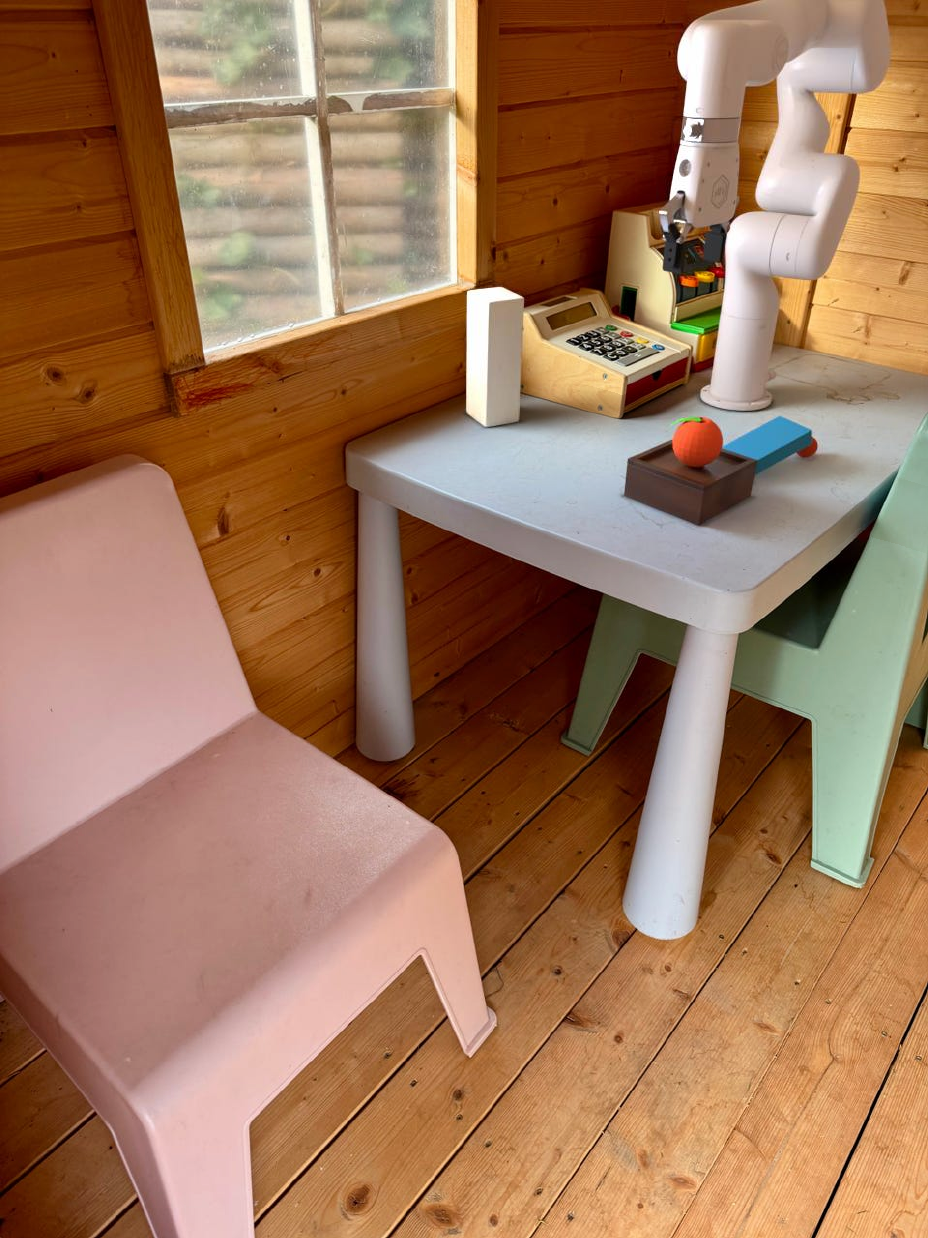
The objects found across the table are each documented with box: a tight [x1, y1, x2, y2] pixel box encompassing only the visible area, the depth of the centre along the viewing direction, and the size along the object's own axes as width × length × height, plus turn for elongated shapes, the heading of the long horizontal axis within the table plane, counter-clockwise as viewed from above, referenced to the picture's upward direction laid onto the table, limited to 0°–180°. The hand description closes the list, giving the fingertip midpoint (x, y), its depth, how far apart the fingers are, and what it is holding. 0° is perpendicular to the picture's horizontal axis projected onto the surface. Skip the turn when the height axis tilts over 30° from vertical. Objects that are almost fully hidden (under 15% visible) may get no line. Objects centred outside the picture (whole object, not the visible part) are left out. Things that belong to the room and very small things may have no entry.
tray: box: [623, 438, 758, 526], centre depth 131 cm, size 13×13×6 cm
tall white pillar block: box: [465, 286, 525, 428], centre depth 153 cm, size 8×7×21 cm
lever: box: [722, 415, 819, 476], centre depth 140 cm, size 7×7×18 cm
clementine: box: [665, 416, 724, 467], centre depth 127 cm, size 8×7×7 cm
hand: (692, 266), depth 131 cm, fingers open, 9 cm apart
